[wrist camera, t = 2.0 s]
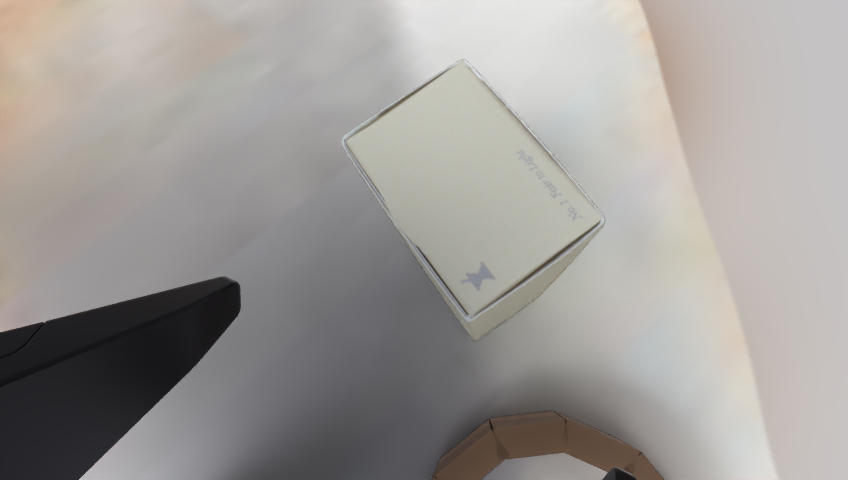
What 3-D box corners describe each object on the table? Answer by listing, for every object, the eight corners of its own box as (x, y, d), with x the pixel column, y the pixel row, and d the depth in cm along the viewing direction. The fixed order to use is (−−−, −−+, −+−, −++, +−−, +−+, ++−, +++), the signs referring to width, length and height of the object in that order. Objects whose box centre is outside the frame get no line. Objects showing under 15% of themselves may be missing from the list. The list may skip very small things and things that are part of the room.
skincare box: (543, 294, 22) (624, 226, 10) (471, 345, 22) (470, 334, 10) (470, 198, 24) (468, 47, 12) (401, 245, 24) (333, 137, 12)
